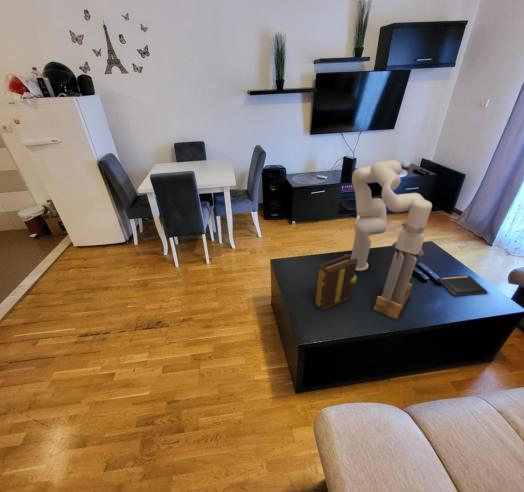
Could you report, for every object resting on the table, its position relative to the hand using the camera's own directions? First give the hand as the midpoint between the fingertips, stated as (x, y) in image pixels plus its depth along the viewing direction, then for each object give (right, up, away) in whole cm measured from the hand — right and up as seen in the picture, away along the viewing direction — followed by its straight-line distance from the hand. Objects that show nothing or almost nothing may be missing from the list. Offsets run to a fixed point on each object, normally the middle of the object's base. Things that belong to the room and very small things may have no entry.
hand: (403, 261), depth 130 cm
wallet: (+45, -14, +25) cm, 53 cm away
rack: (+1, -22, +15) cm, 27 cm away
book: (-28, -21, +18) cm, 39 cm away
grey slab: (0, -20, +13) cm, 24 cm away
